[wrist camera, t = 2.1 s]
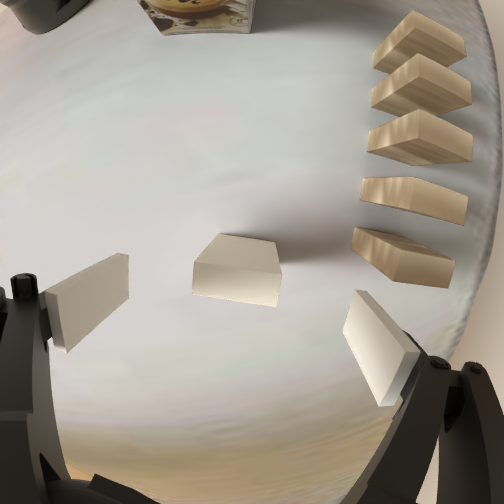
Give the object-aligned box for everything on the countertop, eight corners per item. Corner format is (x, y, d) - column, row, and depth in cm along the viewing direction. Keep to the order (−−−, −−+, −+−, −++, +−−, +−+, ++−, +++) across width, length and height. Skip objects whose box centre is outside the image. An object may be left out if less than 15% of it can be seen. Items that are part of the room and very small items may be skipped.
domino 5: (363, 178, 22) (414, 177, 14) (408, 190, 22) (468, 196, 14) (359, 199, 23) (409, 209, 14) (405, 210, 23) (463, 225, 14)
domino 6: (355, 227, 23) (401, 250, 15) (400, 236, 23) (455, 260, 15) (350, 248, 24) (393, 281, 15) (395, 256, 24) (448, 288, 15)
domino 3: (371, 89, 20) (417, 53, 11) (415, 105, 20) (470, 81, 11) (370, 107, 21) (419, 76, 12) (415, 122, 21) (472, 104, 12)
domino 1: (218, 233, 24) (194, 261, 15) (274, 242, 24) (282, 274, 15) (216, 255, 24) (191, 293, 16) (271, 263, 24) (276, 306, 16)
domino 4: (369, 131, 21) (419, 108, 12) (413, 146, 21) (472, 135, 12) (366, 151, 22) (417, 137, 13) (411, 165, 22) (471, 161, 13)
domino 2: (372, 52, 19) (412, 10, 10) (415, 69, 19) (463, 38, 10) (372, 68, 20) (414, 27, 11) (415, 84, 20) (466, 56, 11)
